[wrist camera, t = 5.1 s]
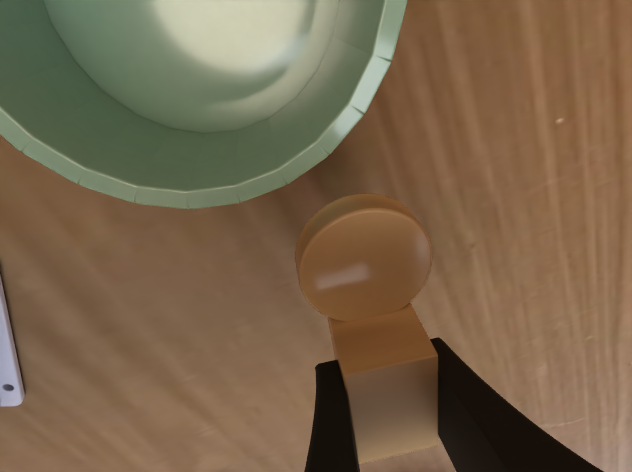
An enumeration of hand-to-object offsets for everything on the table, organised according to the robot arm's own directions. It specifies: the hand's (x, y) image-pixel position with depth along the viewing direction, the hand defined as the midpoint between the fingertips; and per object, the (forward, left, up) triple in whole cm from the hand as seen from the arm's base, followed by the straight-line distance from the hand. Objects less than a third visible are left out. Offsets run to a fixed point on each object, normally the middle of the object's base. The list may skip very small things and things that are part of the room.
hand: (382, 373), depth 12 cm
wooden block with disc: (+1, 0, -1) cm, 2 cm away
